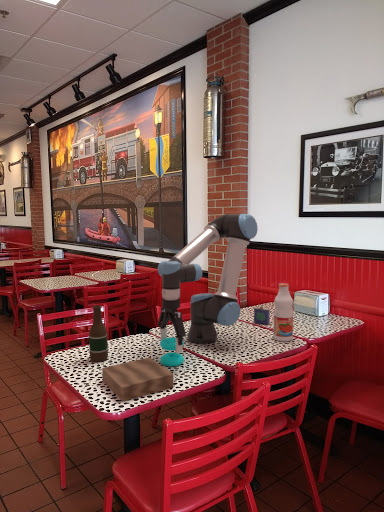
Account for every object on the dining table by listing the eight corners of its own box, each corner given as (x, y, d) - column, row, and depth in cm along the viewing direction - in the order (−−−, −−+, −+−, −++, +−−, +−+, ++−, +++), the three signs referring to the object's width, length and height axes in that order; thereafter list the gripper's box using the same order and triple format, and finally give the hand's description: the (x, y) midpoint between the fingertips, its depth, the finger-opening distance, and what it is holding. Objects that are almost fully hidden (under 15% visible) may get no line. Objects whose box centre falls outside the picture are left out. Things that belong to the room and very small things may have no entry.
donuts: (185, 336, 171) (181, 344, 161) (185, 359, 172) (181, 367, 162) (162, 336, 172) (157, 343, 162) (163, 358, 173) (158, 366, 163)
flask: (270, 324, 223) (270, 305, 222) (268, 325, 220) (268, 307, 219) (254, 322, 228) (254, 304, 226) (252, 323, 225) (253, 305, 224)
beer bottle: (88, 357, 174) (86, 304, 172) (106, 355, 177) (104, 303, 174) (90, 363, 167) (88, 308, 164) (109, 361, 170) (107, 306, 167)
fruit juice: (284, 334, 204) (285, 281, 201) (296, 340, 195) (297, 284, 192) (269, 337, 200) (270, 283, 196) (281, 343, 191) (282, 286, 188)
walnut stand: (149, 369, 161) (149, 357, 160) (173, 387, 144) (173, 374, 143) (102, 380, 150) (102, 367, 150) (122, 401, 134) (121, 387, 133)
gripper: (149, 294, 173) (150, 341, 175) (178, 305, 152) (178, 358, 154) (165, 292, 177) (165, 338, 179) (194, 302, 156) (194, 354, 158)
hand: (171, 347), depth 166 cm, fingers open, 13 cm apart
